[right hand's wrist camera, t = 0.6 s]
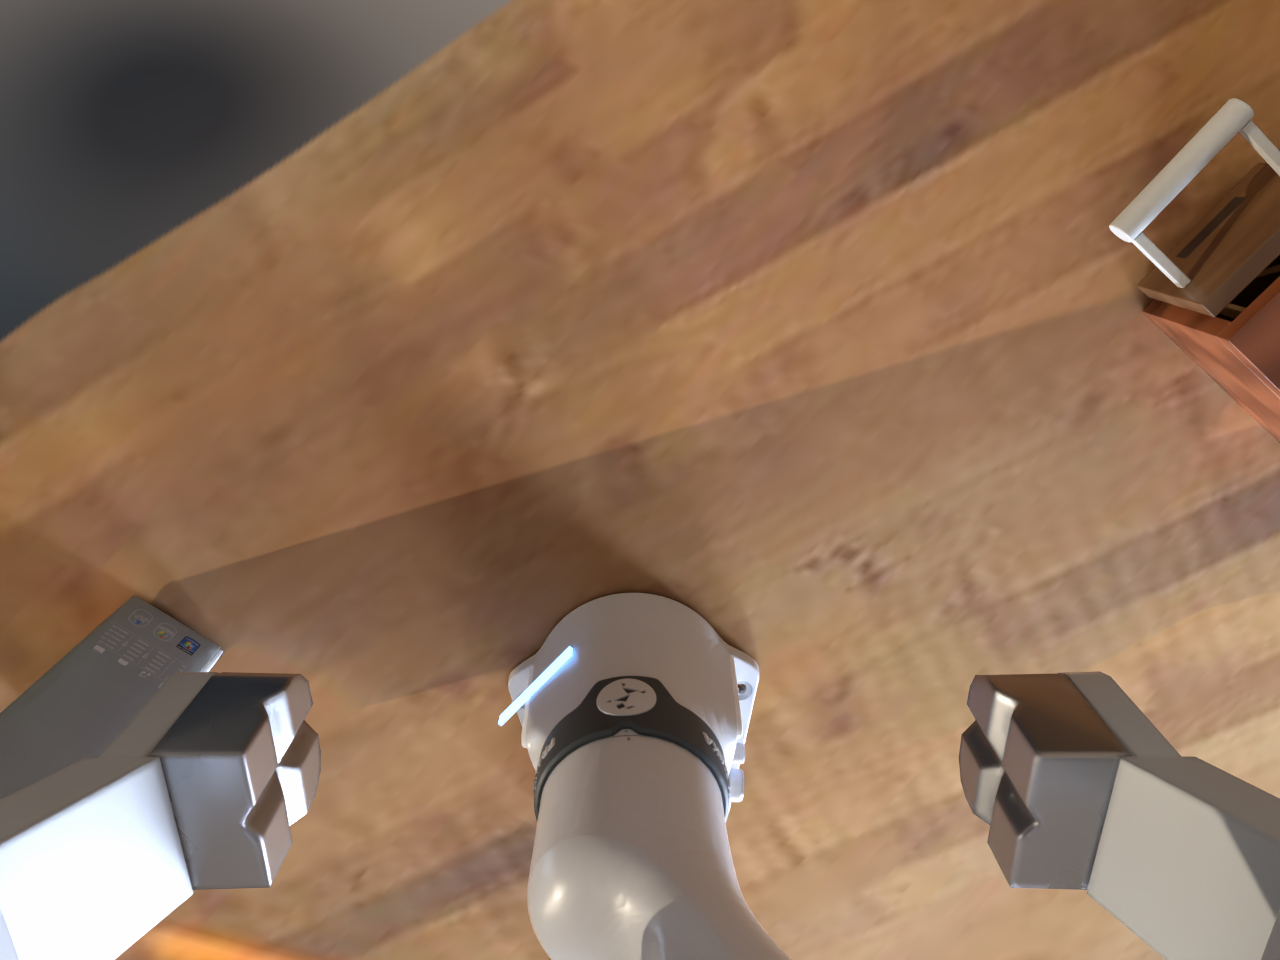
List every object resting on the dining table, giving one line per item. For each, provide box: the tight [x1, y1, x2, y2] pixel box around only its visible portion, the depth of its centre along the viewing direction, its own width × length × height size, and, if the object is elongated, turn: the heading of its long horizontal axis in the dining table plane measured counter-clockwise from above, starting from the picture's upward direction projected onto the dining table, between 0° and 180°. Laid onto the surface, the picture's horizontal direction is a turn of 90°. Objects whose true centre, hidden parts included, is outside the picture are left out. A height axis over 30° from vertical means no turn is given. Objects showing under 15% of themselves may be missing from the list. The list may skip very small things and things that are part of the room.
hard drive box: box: [0, 596, 223, 799], centre depth 56 cm, size 16×8×20 cm, turn 141°
